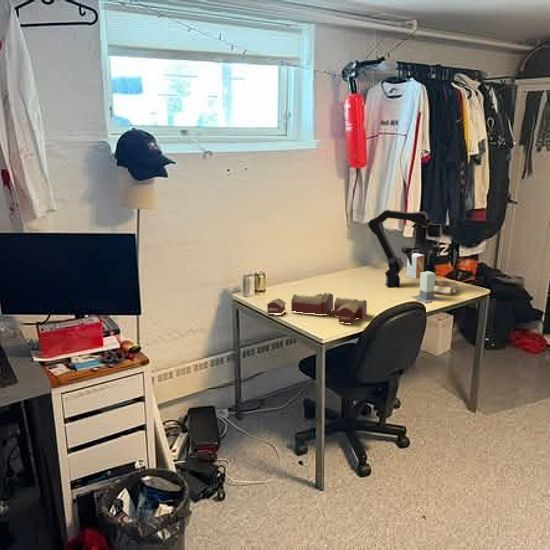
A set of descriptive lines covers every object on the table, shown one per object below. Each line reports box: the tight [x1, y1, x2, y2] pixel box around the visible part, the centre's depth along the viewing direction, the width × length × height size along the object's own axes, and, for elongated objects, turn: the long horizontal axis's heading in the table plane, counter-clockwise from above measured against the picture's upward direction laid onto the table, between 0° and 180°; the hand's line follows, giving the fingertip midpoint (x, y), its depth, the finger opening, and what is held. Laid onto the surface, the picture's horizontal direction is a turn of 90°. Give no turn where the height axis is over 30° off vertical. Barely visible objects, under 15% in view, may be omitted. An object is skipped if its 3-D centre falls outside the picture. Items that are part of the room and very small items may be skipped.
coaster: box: [411, 294, 443, 304], centre depth 271 cm, size 11×11×1 cm
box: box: [419, 270, 436, 300], centre depth 269 cm, size 5×5×13 cm
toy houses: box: [265, 292, 368, 324], centre depth 252 cm, size 45×20×10 cm, turn 67°
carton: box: [434, 279, 460, 296], centre depth 281 cm, size 15×15×5 cm
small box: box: [406, 252, 425, 280], centre depth 310 cm, size 8×6×13 cm
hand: (419, 265), depth 285 cm, fingers open, 9 cm apart
